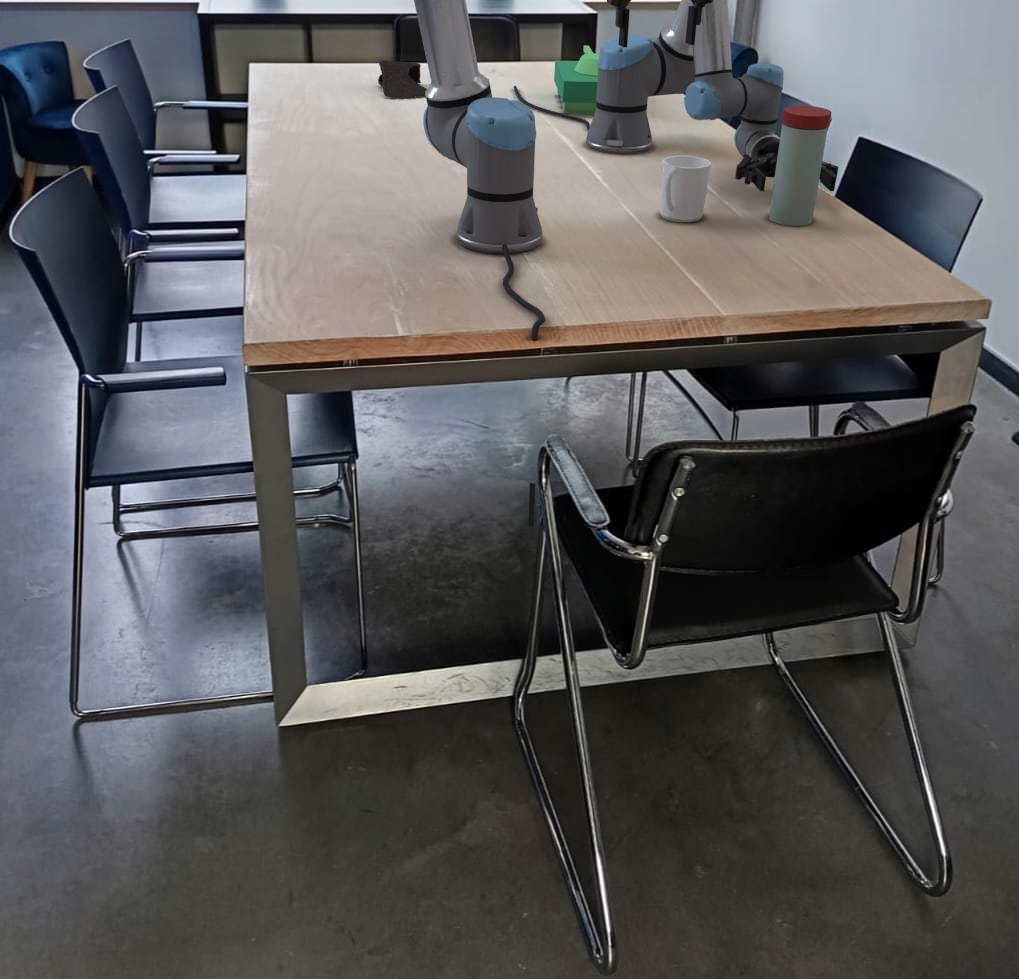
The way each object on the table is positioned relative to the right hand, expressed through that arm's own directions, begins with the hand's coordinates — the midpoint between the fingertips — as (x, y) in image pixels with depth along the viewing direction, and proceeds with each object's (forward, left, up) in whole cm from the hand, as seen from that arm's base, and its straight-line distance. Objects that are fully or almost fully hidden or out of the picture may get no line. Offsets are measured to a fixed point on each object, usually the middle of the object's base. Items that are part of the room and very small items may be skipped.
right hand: (798, 184), depth 207 cm
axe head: (-133, -23, -6) cm, 135 cm away
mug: (-9, -21, -6) cm, 23 cm away
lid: (0, -1, +13) cm, 13 cm away
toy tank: (-102, +17, -6) cm, 103 cm away
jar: (0, -1, -6) cm, 7 cm away
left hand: (-25, -17, +22) cm, 38 cm away
